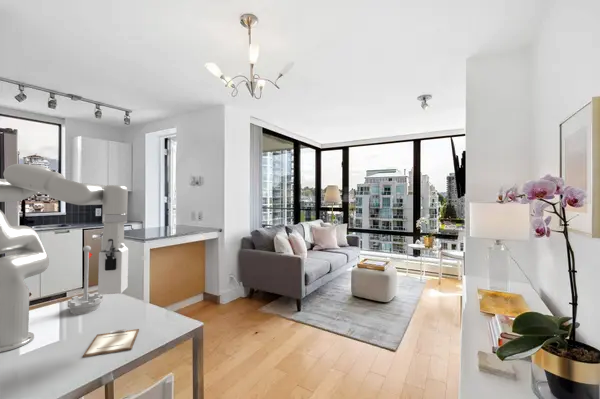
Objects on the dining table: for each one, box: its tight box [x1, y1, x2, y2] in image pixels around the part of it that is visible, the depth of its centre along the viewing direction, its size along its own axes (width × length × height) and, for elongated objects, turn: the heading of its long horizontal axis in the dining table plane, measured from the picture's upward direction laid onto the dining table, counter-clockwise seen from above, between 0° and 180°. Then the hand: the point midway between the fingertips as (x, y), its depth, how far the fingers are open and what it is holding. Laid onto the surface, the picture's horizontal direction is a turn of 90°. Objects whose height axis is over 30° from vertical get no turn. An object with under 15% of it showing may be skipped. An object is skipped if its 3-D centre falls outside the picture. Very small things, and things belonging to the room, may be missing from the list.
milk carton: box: [97, 242, 129, 296], centre depth 99 cm, size 7×7×19 cm
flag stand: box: [67, 245, 104, 315], centre depth 129 cm, size 13×13×30 cm
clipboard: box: [82, 328, 140, 358], centre depth 100 cm, size 14×15×1 cm
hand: (113, 267), depth 99 cm, fingers closed on milk carton, 7 cm apart
